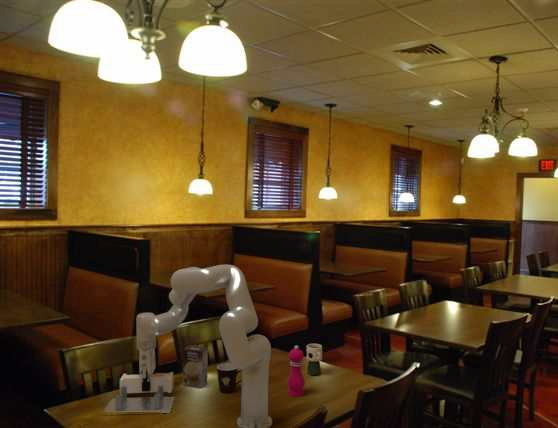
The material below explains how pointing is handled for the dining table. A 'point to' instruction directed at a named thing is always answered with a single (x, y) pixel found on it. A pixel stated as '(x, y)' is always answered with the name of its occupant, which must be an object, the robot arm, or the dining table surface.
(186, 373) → the coffee box
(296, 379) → the pepper mill
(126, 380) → the strip bar
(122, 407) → the slot rack
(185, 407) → the dining table surface
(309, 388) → the dining table surface
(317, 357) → the character mug
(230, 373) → the coffee mug
